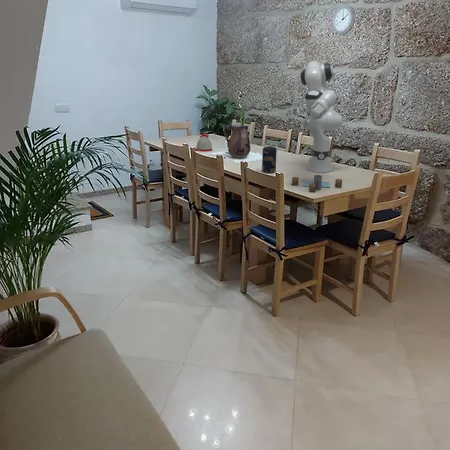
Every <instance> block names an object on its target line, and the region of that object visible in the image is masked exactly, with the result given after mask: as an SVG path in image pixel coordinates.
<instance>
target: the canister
mask: <svg viewBox="0 0 450 450" xmlns="http://www.w3.org/2000/svg"><path fill="white" fill-rule="evenodd" d="M277 152H278V150H277V147H275V146H271V145H269V146H265V147H264V146H263V147H262V159H261V161H262V162H261V171H262V172H263V173H266V174H267V173H268V174H272V173H275V172H276V170H277Z"/></svg>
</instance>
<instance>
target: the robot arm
mask: <svg viewBox="0 0 450 450" xmlns="http://www.w3.org/2000/svg"><path fill="white" fill-rule="evenodd" d="M333 74H334V68H333V66H332V65H331V63H329V62H325V63H319V62H318V61H316V60H311V61H309V62H308V64H307V65H306V67H305V69H303V70H301V72H300V76H299V78H300V82H301V84H302V85H304V86H306V87H307V92H306V93H305V94H304V102H305V107H306V111H307V115H306V117H305V119H304V120H302V122H301V123H300V125H299V126H300V127H299V128H298V130H299V131H302V130H303V129H307V130H309V132H310V133H311V135H312V138H313V147H312V150H311V152H312V153H311V157H310V158H309V159H308V166H306V168H305V169H306V170H307V171H310V172H314V173H329V172H334V168H332V158H331V157H330V155H331V150H330V149H331V148H330V147H331V139H330V137H329V136H327V135H326V134H324V131H336V130H339V129H341V127H342V126H343V123H344V120H343V116H342V115H341V114H340V113H338V112H337V111H336V110H335V109H334V108H333V105H334V104H335V103H336V101H337V95H336V93H335V92H334V91H333V90H332V89H329V88H328V87H329V86H328V85H327V83H330V80H331V79H332V77H333V76H334V75H333Z"/></svg>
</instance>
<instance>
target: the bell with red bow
mask: <svg viewBox="0 0 450 450" xmlns="http://www.w3.org/2000/svg"><path fill="white" fill-rule="evenodd" d="M200 134H201V135H199V137H200V138H199V139H198V141H197V143H196V149H195V150H196V152H206V153H207V152H211V151H213V146H212V141H211V140H210V139H209V135H210V134H208V133H205V132H202V133H200Z"/></svg>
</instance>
